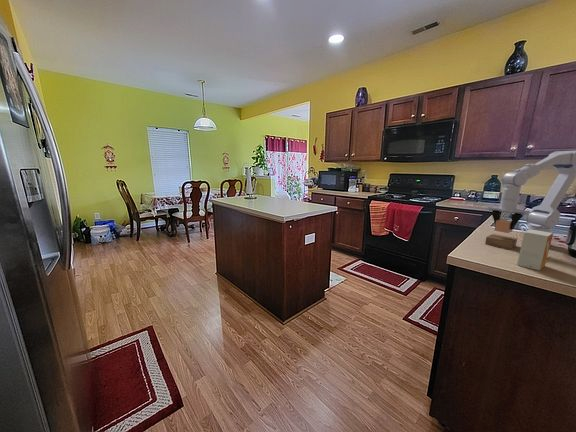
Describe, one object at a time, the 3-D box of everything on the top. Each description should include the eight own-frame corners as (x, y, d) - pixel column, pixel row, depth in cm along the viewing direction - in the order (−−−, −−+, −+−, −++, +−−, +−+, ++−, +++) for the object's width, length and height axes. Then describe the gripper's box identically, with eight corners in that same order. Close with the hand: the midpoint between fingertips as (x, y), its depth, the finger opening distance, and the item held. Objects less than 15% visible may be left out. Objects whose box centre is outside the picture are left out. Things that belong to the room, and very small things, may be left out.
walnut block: (491, 241, 119) (493, 233, 118) (515, 246, 112) (517, 238, 111) (484, 244, 114) (486, 236, 113) (509, 250, 107) (511, 241, 106)
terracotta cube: (498, 229, 114) (500, 219, 113) (512, 231, 110) (514, 221, 109) (494, 230, 112) (496, 220, 111) (507, 233, 108) (510, 222, 107)
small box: (540, 271, 85) (548, 236, 82) (516, 265, 90) (523, 232, 87) (545, 266, 89) (553, 232, 86) (522, 260, 94) (529, 228, 91)
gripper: (486, 197, 112) (481, 225, 115) (528, 201, 100) (521, 232, 103) (493, 196, 116) (487, 223, 118) (533, 200, 103) (527, 230, 106)
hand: (503, 227), depth 111 cm, fingers closed on terracotta cube, 5 cm apart
